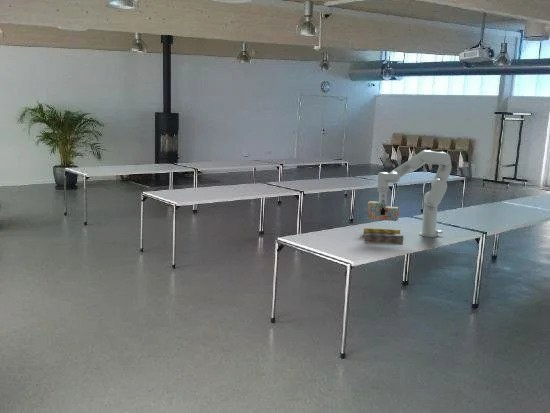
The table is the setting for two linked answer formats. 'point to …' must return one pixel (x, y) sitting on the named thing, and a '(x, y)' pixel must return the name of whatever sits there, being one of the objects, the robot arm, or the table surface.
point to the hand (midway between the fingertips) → (382, 213)
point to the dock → (382, 235)
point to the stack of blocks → (375, 209)
